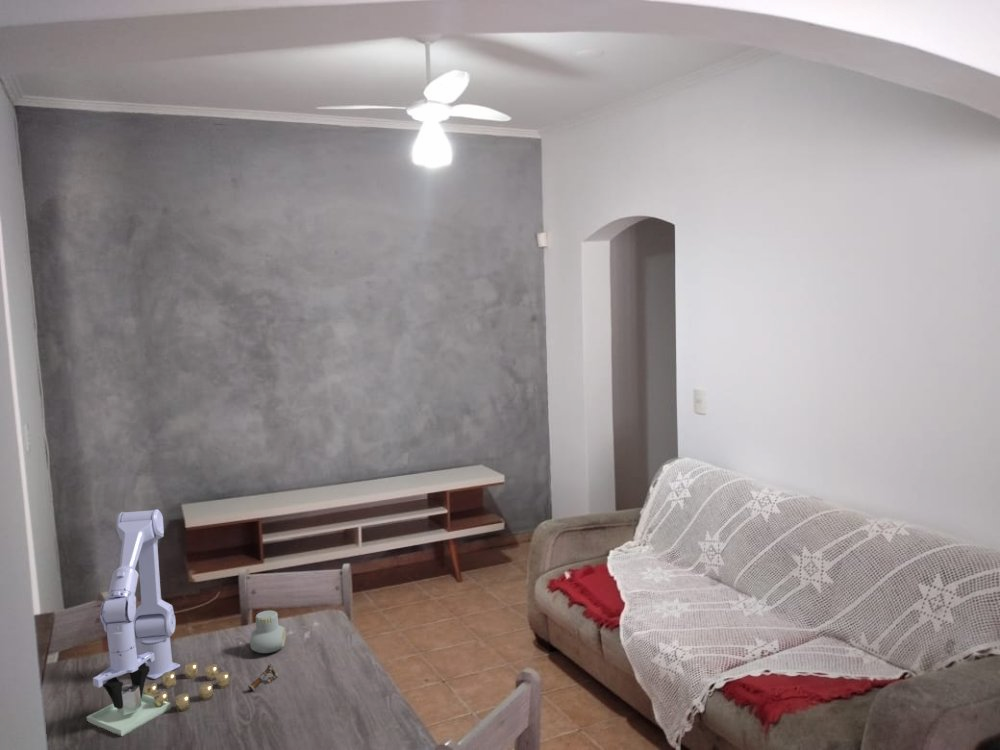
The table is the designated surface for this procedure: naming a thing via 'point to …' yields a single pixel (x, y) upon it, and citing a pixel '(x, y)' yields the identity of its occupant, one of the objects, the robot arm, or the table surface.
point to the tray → (127, 716)
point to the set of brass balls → (183, 699)
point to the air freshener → (267, 633)
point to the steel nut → (130, 699)
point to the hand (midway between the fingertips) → (128, 702)
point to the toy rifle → (262, 676)
